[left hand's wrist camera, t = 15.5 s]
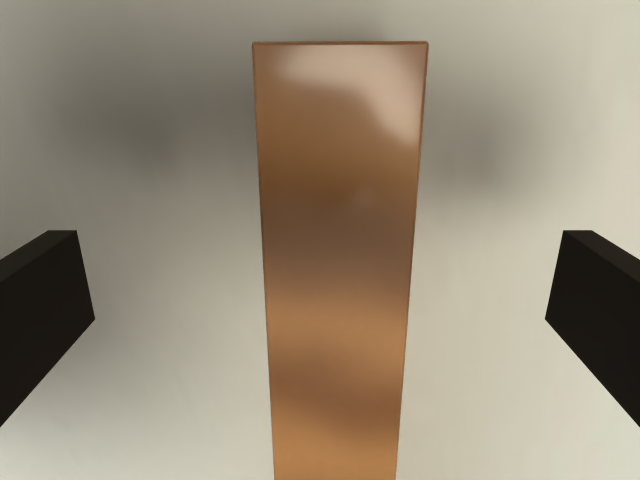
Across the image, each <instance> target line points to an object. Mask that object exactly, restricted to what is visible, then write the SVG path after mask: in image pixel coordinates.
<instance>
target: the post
mask: <svg viewBox="0 0 640 480" xmlns="http://www.w3.org/2000/svg"><path fill="white" fill-rule="evenodd" d="M428 48H429V44H428V42H426V41H322V42H254V43H253V44H252V57H253V77H254V96H255V115H256V134H257V154H258V173H259V192H260V211H261V231H262V250H263V269H264V288H265V308H266V327H267V346H268V365H269V385H270V404H271V423H272V442H273V462H274V480H395V479H396V466H397V453H398V440H399V427H400V414H401V401H402V388H403V375H404V362H405V349H406V336H407V322H408V309H409V296H410V283H411V270H412V257H413V244H414V231H415V218H416V205H417V192H418V179H419V166H420V153H421V139H422V126H423V113H424V100H425V87H426V74H427V61H428Z"/></svg>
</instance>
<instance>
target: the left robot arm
mask: <svg viewBox="0 0 640 480" xmlns="http://www.w3.org/2000/svg"><path fill="white" fill-rule="evenodd" d="M94 320H95V316H94V311H93V307H92V302H91V297H90V292H89V287H88V283H87V278H86V273H85V268H84V264H83V259H82V254H81V249H80V244H79V240H78V235H77V230H48V231H46V232H45V233H43V234H41V235H40V236H38V237H37V238H35V239H33V240H32V241H30V242H29V243H27V244H25V245H24V246H22V247H20V248H19V249H17V250H16V251H14V252H12V253H11V254H9V255H7V256H6V257H4V258H3V259H1V260H0V427H1V426H2V425H3V423H4V422H5V421H6V420H7V419H8V418H9V417H10V416H11V414H12V413H13V412H14V411H15V410H16V409H17V408H18V406H19V405H20V404H21V403H22V402H23V401H24V400H25V398H26V397H27V396H28V395H29V394H30V393H31V392H32V390H33V389H34V388H35V387H36V386H37V385H38V384H39V382H40V381H41V380H42V379H43V378H44V377H45V376H46V374H47V373H48V372H49V371H50V370H51V369H52V368H53V367H54V365H55V364H56V363H57V362H58V361H59V360H60V359H61V357H62V356H63V355H64V354H65V353H66V352H67V351H68V349H69V348H70V347H71V346H72V345H73V344H74V343H75V341H76V340H77V339H78V338H79V337H80V336H81V335H82V333H83V332H84V331H85V330H86V329H87V328H88V327H89V325H90V324H91V323H92V322H93V321H94ZM545 320H546V321H547V322H548V323H549V324H550V325H551V327H552V328H553V329H554V330H555V331H556V332H557V333H558V335H559V336H560V337H561V338H562V339H563V340H564V341H565V343H566V344H567V345H568V346H569V347H570V348H571V349H572V351H573V352H574V353H575V354H576V355H577V356H578V357H579V359H580V360H581V361H582V362H583V363H584V364H585V365H586V367H587V368H588V369H589V370H590V371H591V372H592V373H593V374H594V376H595V377H596V378H597V379H598V380H599V381H600V382H601V384H602V385H603V386H604V387H605V388H606V389H607V390H608V392H609V393H610V394H611V395H612V396H613V397H614V398H615V400H616V401H617V402H618V403H619V404H620V405H621V406H622V408H623V409H624V410H625V411H626V412H627V413H628V414H629V416H630V417H631V418H632V419H633V420H634V421H635V422H636V423H637V425H638V426H639V427H640V260H639V259H637V258H636V257H634V256H633V255H631V254H629V253H628V252H626V251H624V250H623V249H621V248H620V247H618V246H616V245H615V244H613V243H611V242H610V241H608V240H607V239H605V238H603V237H602V236H600V235H598V234H597V233H595V232H594V231H592V230H563V235H562V240H561V244H560V249H559V254H558V259H557V263H556V268H555V273H554V278H553V283H552V287H551V292H550V297H549V302H548V307H547V311H546V316H545Z"/></svg>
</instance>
